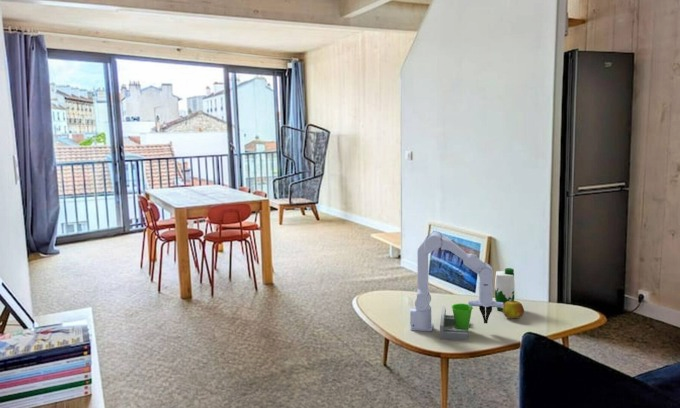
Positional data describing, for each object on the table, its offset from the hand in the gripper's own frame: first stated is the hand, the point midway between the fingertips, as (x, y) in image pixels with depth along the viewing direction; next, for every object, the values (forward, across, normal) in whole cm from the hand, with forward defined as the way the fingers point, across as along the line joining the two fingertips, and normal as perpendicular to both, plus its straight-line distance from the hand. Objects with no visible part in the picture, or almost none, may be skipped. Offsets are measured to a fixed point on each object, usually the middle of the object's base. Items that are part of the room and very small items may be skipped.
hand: (485, 322), depth 215 cm
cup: (+5, -10, 0) cm, 11 cm away
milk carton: (+4, +10, +31) cm, 33 cm away
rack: (+4, -13, 0) cm, 14 cm away
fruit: (+4, +13, +19) cm, 24 cm away
